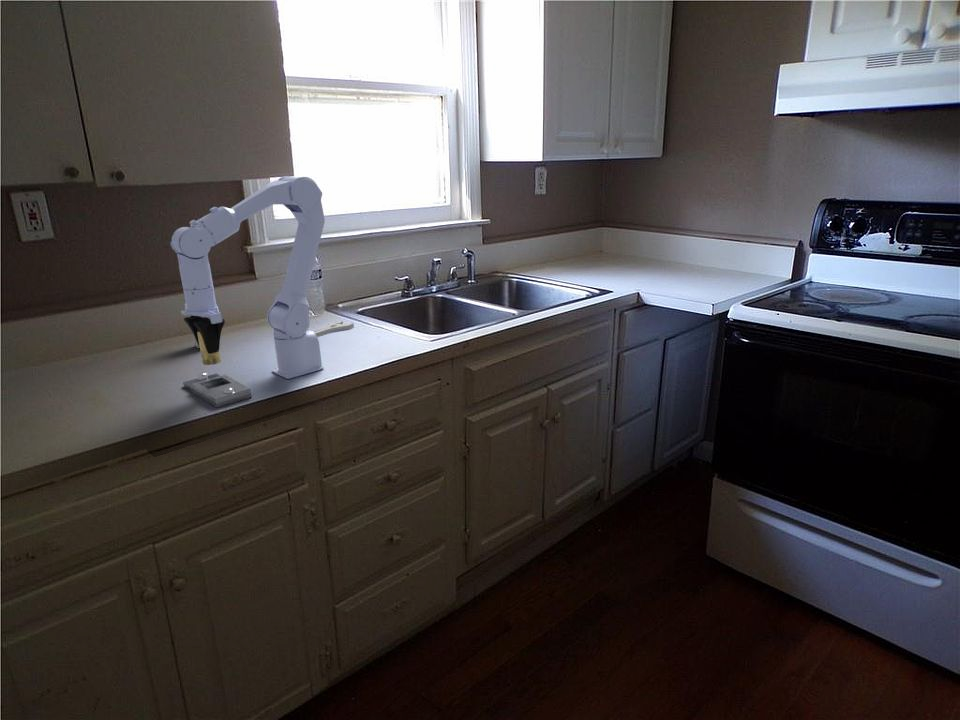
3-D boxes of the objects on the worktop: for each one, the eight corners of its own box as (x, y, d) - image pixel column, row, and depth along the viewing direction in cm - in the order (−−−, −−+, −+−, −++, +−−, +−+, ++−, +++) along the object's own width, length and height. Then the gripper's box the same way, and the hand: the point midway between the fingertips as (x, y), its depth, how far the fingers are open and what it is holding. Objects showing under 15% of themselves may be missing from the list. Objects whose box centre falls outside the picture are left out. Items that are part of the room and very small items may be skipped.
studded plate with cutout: (216, 377, 144) (215, 367, 143) (251, 397, 132) (249, 386, 131) (183, 386, 139) (181, 375, 138) (216, 407, 127) (214, 396, 126)
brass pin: (215, 358, 136) (210, 327, 133) (224, 361, 133) (218, 330, 131) (199, 362, 133) (193, 331, 131) (207, 366, 131) (202, 334, 129)
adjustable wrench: (281, 350, 164) (280, 343, 164) (268, 346, 168) (267, 339, 168) (357, 328, 182) (356, 322, 181) (343, 324, 186) (343, 319, 185)
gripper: (165, 285, 130) (177, 347, 135) (191, 295, 120) (203, 362, 125) (199, 280, 135) (210, 340, 139) (227, 289, 125) (238, 354, 129)
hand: (209, 350), depth 132 cm, fingers closed on brass pin, 4 cm apart
